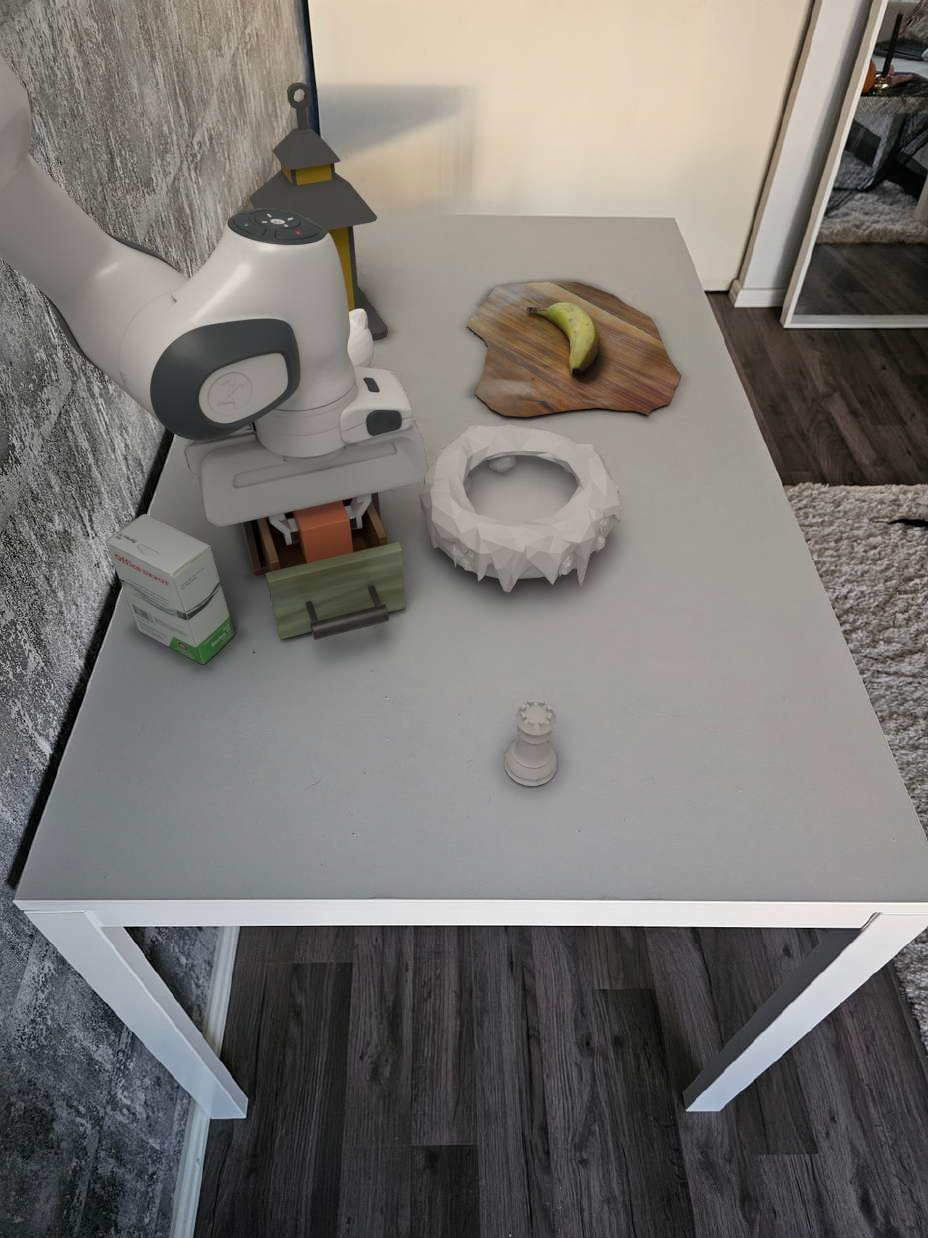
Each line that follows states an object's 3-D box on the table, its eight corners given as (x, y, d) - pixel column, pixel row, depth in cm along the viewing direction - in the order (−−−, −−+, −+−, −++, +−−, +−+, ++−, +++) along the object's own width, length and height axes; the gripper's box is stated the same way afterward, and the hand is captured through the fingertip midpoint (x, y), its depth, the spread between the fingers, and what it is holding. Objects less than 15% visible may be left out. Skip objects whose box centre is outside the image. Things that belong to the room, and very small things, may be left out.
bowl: (385, 584, 92) (379, 509, 85) (459, 467, 105) (460, 393, 98) (580, 642, 87) (592, 567, 80) (634, 511, 100) (648, 437, 93)
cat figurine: (312, 448, 107) (296, 334, 96) (304, 389, 116) (288, 277, 104) (387, 440, 109) (380, 326, 97) (374, 382, 117) (366, 270, 106)
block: (307, 566, 85) (301, 530, 82) (297, 535, 88) (290, 499, 85) (353, 554, 86) (349, 519, 83) (342, 524, 89) (337, 489, 86)
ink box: (238, 634, 88) (214, 544, 79) (202, 667, 85) (173, 578, 76) (172, 599, 91) (142, 508, 82) (135, 630, 88) (100, 539, 79)
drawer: (418, 639, 86) (416, 581, 81) (290, 672, 83) (278, 615, 78) (368, 521, 98) (362, 463, 92) (253, 547, 95) (240, 489, 89)
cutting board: (700, 415, 112) (706, 389, 110) (482, 429, 110) (482, 402, 107) (632, 278, 136) (636, 253, 133) (451, 287, 134) (451, 262, 131)
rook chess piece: (561, 785, 77) (570, 730, 71) (509, 792, 76) (514, 738, 70) (549, 741, 80) (557, 685, 74) (499, 748, 79) (503, 692, 73)
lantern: (263, 308, 129) (223, 72, 107) (357, 289, 133) (337, 58, 111) (290, 358, 120) (253, 112, 98) (390, 336, 124) (376, 95, 102)
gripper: (184, 457, 71) (219, 580, 82) (431, 407, 76) (434, 529, 86) (174, 412, 75) (208, 535, 86) (409, 367, 80) (414, 489, 90)
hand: (323, 532), depth 86 cm, fingers closed on block, 4 cm apart
